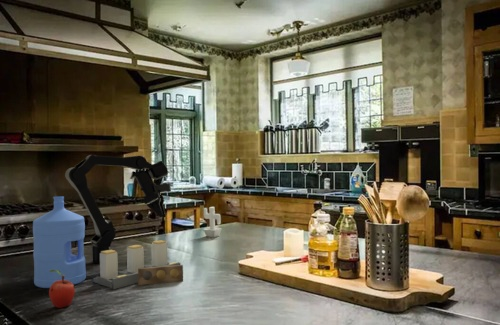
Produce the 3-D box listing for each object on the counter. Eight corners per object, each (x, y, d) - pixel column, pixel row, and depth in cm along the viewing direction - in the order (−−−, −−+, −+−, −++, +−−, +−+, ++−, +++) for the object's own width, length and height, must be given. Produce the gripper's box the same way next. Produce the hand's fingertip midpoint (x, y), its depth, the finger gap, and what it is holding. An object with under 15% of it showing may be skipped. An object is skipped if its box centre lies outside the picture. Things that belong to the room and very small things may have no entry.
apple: (80, 301, 119) (79, 266, 119) (70, 310, 112) (69, 272, 112) (52, 302, 119) (51, 267, 118) (41, 311, 112) (40, 273, 112)
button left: (100, 277, 137) (99, 251, 137) (111, 275, 140) (110, 249, 140) (106, 280, 135) (106, 253, 135) (117, 277, 138) (117, 250, 138)
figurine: (217, 237, 212) (216, 208, 212) (201, 236, 216) (200, 207, 216) (224, 235, 219) (223, 206, 219) (208, 234, 223) (207, 205, 223)
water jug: (29, 291, 130) (26, 200, 130) (39, 277, 145) (37, 196, 145) (83, 286, 134) (81, 197, 134) (88, 273, 149) (86, 194, 149)
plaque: (138, 285, 134) (138, 269, 134) (138, 283, 135) (138, 268, 135) (183, 281, 137) (182, 265, 137) (182, 280, 138) (182, 264, 138)
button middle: (127, 271, 145) (126, 246, 145) (137, 269, 148) (136, 244, 148) (134, 273, 142) (133, 247, 142) (144, 270, 145) (143, 245, 145)
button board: (93, 281, 138) (93, 271, 138) (159, 265, 158) (158, 257, 158) (114, 289, 130) (113, 278, 130) (180, 271, 150) (180, 261, 150)
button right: (151, 265, 152) (151, 241, 152) (160, 263, 155) (160, 239, 155) (158, 267, 150) (157, 242, 150) (167, 264, 153) (167, 241, 153)
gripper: (161, 172, 169) (179, 207, 168) (166, 177, 187) (182, 208, 186) (135, 185, 167) (153, 220, 166) (143, 188, 186) (159, 220, 185)
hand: (163, 217), depth 176 cm, fingers open, 9 cm apart
